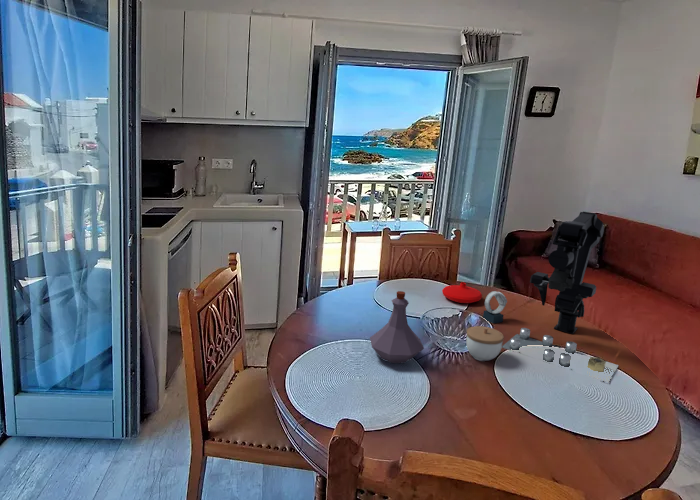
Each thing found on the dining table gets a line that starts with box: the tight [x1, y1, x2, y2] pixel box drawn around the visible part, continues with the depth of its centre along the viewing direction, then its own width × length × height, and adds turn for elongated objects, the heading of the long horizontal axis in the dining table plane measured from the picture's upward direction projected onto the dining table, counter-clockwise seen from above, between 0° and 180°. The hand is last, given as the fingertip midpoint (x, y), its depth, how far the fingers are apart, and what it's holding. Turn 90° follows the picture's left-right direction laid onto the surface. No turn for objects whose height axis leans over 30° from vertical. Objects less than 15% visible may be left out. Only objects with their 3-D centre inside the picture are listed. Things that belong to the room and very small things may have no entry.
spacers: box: [509, 327, 578, 367], centre depth 152 cm, size 14×18×3 cm
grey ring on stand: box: [482, 290, 508, 324], centre depth 174 cm, size 6×8×11 cm
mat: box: [501, 333, 619, 383], centre depth 150 cm, size 14×31×1 cm, turn 52°
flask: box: [369, 290, 425, 364], centre depth 142 cm, size 16×16×20 cm
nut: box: [587, 356, 607, 372], centre depth 143 cm, size 5×4×3 cm
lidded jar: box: [465, 325, 505, 362], centre depth 146 cm, size 11×11×9 cm
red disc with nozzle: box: [441, 281, 483, 304], centre depth 195 cm, size 16×16×7 cm
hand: (558, 309), depth 157 cm, fingers open, 9 cm apart
